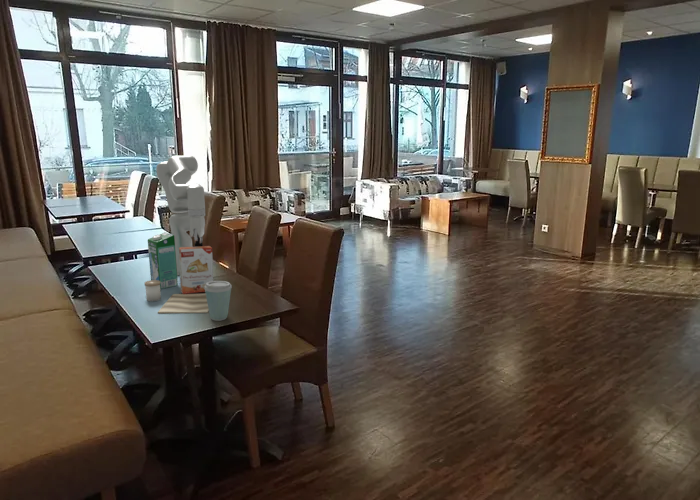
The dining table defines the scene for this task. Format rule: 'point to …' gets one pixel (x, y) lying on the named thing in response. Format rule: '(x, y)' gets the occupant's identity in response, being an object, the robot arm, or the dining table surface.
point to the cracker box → (195, 268)
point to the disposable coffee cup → (218, 299)
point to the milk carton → (163, 259)
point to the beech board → (185, 304)
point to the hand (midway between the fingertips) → (199, 251)
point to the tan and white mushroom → (153, 290)
